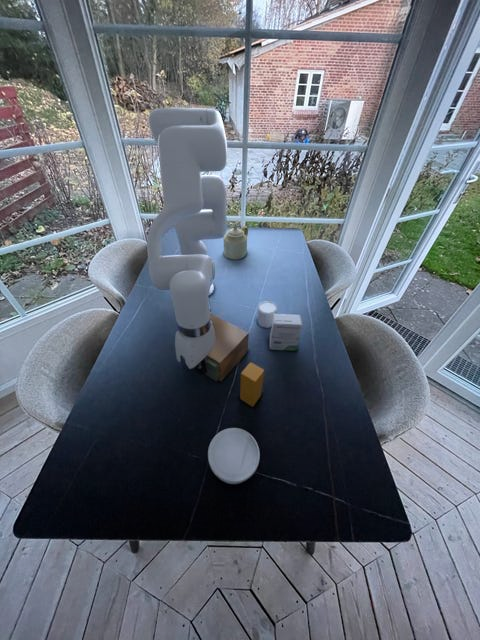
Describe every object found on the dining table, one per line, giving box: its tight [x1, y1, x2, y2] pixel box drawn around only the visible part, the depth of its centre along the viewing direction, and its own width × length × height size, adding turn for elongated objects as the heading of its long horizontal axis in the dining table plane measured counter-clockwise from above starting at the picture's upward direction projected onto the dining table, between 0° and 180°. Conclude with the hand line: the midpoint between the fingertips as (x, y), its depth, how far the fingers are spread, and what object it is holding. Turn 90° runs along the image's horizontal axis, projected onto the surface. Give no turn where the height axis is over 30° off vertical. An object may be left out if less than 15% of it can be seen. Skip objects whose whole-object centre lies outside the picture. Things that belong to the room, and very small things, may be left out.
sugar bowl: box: [223, 223, 249, 260], centre depth 125 cm, size 15×11×15 cm
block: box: [239, 362, 265, 408], centre depth 69 cm, size 4×4×12 cm
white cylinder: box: [257, 300, 279, 328], centre depth 92 cm, size 7×7×7 cm
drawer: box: [205, 358, 219, 382], centre depth 79 cm, size 14×14×7 cm
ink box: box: [269, 313, 303, 351], centre depth 83 cm, size 8×5×12 cm, turn 87°
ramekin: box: [207, 427, 261, 485], centre depth 59 cm, size 11×11×5 cm
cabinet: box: [208, 312, 250, 382], centre depth 80 cm, size 14×15×9 cm
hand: (200, 371), depth 72 cm, fingers closed
